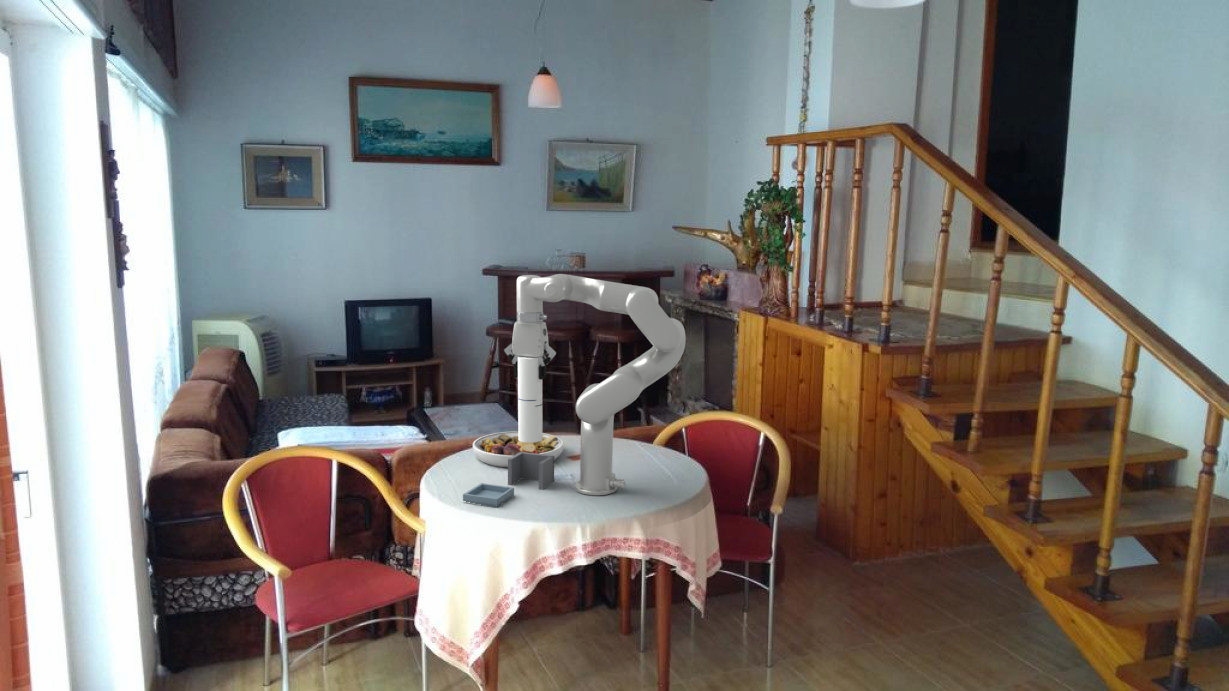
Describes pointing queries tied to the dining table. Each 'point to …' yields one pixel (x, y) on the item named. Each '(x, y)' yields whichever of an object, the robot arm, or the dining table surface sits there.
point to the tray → (488, 495)
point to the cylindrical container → (529, 400)
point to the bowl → (513, 447)
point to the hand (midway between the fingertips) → (530, 377)
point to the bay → (531, 468)
